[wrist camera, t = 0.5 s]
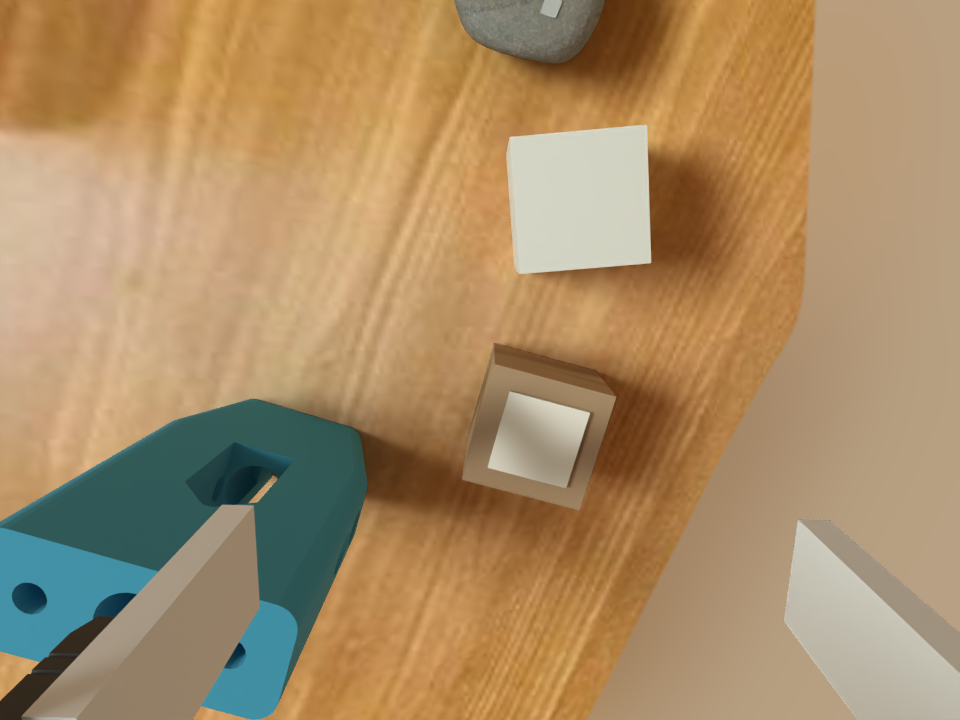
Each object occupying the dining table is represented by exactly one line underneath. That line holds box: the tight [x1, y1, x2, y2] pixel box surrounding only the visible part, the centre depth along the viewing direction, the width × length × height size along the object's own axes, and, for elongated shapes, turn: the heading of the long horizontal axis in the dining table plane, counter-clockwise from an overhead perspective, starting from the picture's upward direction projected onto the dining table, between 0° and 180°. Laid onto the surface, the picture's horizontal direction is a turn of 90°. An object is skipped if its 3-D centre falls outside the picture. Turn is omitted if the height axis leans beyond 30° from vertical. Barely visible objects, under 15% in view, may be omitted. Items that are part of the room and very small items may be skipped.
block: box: [0, 399, 368, 719], centre depth 33 cm, size 12×5×20 cm, turn 73°
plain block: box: [506, 125, 651, 274], centre depth 36 cm, size 7×7×7 cm
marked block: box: [462, 343, 616, 511], centre depth 38 cm, size 7×7×7 cm
